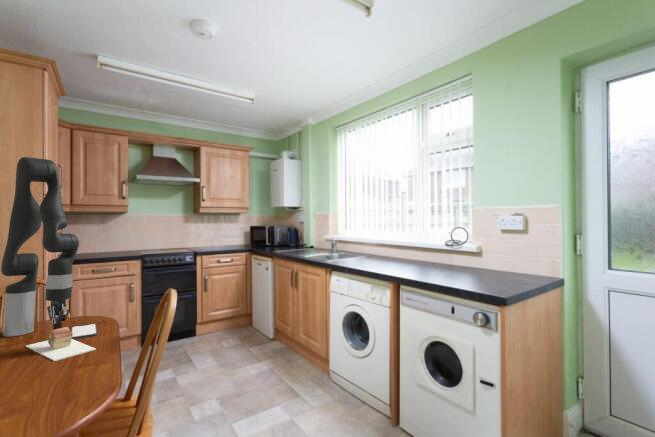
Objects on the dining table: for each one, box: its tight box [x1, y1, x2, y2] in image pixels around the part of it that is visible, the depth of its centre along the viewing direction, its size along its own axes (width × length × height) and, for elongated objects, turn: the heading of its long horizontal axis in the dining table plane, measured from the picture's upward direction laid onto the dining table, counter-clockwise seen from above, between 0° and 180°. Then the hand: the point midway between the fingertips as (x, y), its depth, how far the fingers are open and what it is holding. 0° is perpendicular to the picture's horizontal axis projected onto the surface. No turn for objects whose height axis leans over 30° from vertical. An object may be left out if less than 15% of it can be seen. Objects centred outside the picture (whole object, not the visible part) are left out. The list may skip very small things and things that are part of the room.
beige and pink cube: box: [47, 326, 73, 350], centre depth 115 cm, size 5×5×5 cm
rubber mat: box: [25, 339, 97, 362], centre depth 114 cm, size 25×12×1 cm, turn 60°
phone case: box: [70, 323, 98, 340], centre depth 132 cm, size 9×2×16 cm
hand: (56, 332), depth 116 cm, fingers closed
